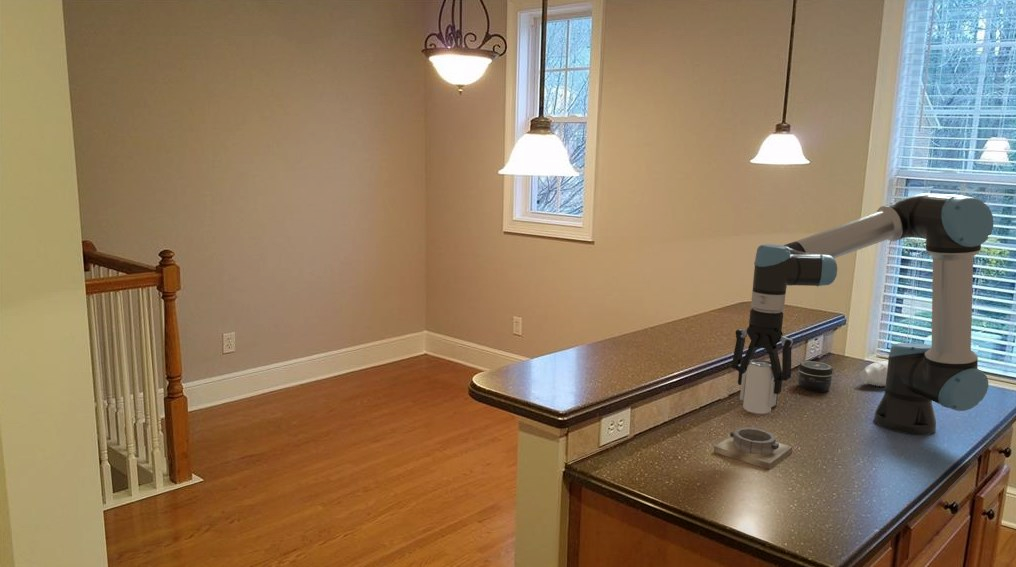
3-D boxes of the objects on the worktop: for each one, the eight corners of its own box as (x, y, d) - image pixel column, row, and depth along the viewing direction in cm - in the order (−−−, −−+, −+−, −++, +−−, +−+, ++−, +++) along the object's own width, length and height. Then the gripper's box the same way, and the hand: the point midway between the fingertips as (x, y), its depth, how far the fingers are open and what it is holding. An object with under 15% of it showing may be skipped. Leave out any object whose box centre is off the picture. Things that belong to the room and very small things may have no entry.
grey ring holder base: (791, 452, 183) (793, 435, 182) (769, 469, 173) (771, 451, 172) (738, 436, 192) (739, 420, 191) (713, 452, 182) (715, 434, 181)
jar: (831, 386, 238) (833, 363, 237) (830, 395, 229) (832, 371, 228) (797, 381, 242) (800, 358, 241) (795, 389, 233) (798, 366, 232)
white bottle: (851, 383, 242) (854, 360, 240) (894, 379, 248) (897, 356, 247) (870, 391, 234) (873, 367, 233) (915, 386, 241) (918, 363, 239)
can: (738, 405, 183) (743, 359, 181) (763, 405, 184) (768, 359, 182) (749, 414, 177) (754, 366, 175) (775, 415, 177) (780, 367, 175)
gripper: (721, 305, 179) (713, 395, 183) (802, 319, 167) (791, 416, 171) (735, 301, 185) (726, 389, 189) (814, 314, 172) (803, 408, 176)
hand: (757, 401), depth 180 cm, fingers closed on can, 6 cm apart
